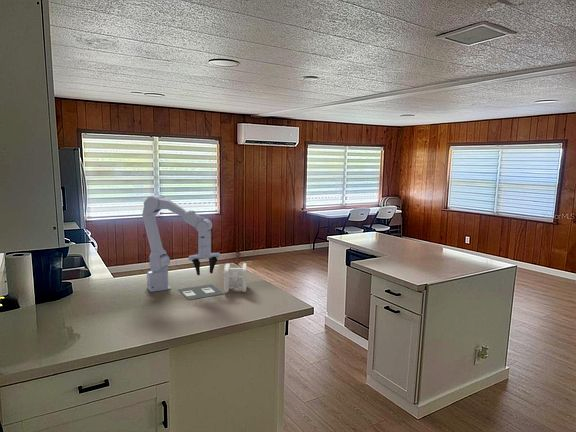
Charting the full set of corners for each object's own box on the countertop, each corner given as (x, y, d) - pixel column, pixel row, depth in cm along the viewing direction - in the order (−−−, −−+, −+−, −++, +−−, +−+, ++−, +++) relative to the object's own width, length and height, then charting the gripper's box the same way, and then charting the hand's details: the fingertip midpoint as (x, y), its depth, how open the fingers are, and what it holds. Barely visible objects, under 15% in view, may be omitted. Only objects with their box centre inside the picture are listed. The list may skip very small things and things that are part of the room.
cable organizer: (246, 295, 180) (246, 270, 179) (222, 295, 179) (223, 270, 178) (246, 285, 195) (246, 262, 194) (224, 285, 194) (225, 262, 193)
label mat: (188, 300, 173) (188, 299, 173) (177, 289, 186) (177, 289, 186) (224, 294, 181) (224, 293, 181) (211, 284, 195) (211, 284, 195)
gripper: (191, 248, 175) (192, 278, 177) (222, 245, 182) (222, 274, 184) (187, 245, 181) (187, 274, 182) (217, 242, 188) (217, 270, 190)
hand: (204, 273), depth 184 cm, fingers open, 6 cm apart
